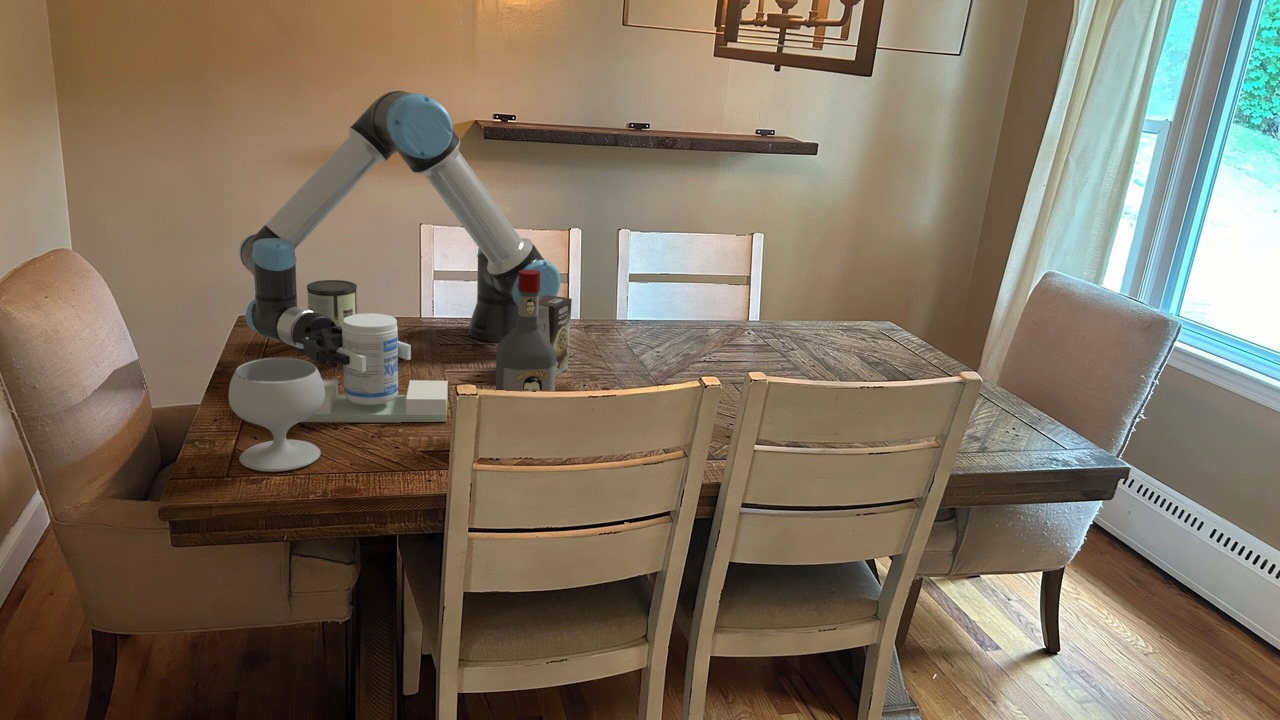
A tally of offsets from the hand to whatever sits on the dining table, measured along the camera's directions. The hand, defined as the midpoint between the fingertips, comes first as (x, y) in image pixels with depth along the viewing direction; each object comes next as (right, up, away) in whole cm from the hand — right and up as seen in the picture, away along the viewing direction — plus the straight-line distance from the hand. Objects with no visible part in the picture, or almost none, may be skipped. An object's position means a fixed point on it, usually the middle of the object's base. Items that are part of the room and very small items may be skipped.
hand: (387, 358), depth 158 cm
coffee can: (-23, +2, +40) cm, 46 cm away
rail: (-5, -10, +6) cm, 12 cm away
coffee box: (+25, -3, +35) cm, 43 cm away
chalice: (-13, -16, -15) cm, 25 cm away
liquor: (+24, -14, 0) cm, 28 cm away
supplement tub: (-4, -7, +5) cm, 10 cm away
